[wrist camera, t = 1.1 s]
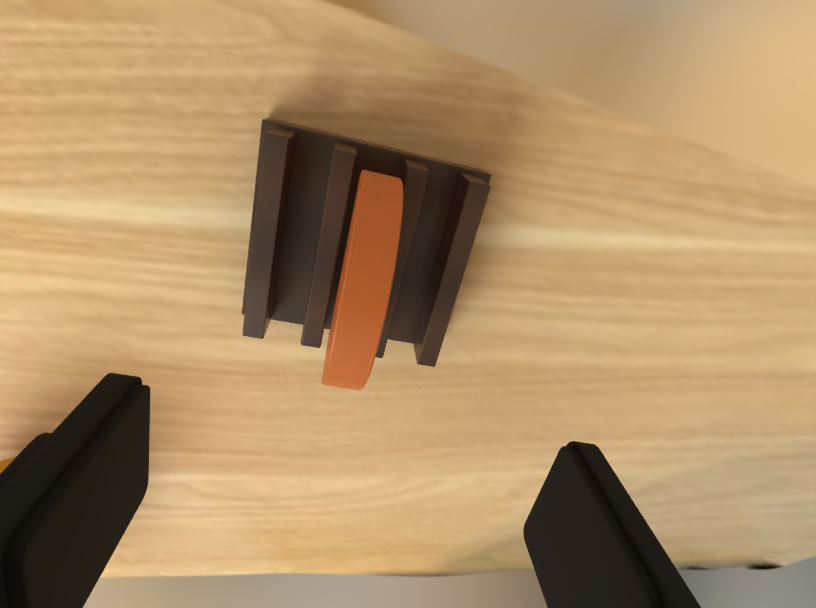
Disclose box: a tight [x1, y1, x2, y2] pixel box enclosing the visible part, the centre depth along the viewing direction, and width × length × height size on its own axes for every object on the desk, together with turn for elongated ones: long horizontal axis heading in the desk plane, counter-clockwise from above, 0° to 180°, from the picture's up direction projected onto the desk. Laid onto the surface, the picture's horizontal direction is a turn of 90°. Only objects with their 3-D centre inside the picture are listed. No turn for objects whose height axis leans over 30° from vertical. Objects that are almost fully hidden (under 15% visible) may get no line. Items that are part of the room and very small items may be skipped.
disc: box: [322, 170, 403, 390], centre depth 20 cm, size 9×2×9 cm, turn 166°
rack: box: [242, 118, 491, 367], centre depth 23 cm, size 10×11×4 cm
